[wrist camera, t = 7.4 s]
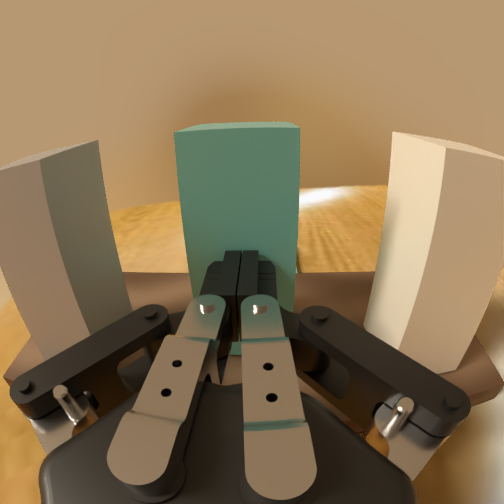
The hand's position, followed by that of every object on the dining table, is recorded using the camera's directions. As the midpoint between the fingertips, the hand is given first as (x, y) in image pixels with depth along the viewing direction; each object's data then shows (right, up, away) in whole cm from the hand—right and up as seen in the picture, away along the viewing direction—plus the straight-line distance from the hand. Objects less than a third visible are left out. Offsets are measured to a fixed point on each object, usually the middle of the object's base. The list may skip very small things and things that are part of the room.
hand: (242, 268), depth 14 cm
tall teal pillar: (0, -4, +5) cm, 6 cm away
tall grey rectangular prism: (-10, -5, +3) cm, 12 cm away
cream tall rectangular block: (+10, -5, +2) cm, 11 cm away
